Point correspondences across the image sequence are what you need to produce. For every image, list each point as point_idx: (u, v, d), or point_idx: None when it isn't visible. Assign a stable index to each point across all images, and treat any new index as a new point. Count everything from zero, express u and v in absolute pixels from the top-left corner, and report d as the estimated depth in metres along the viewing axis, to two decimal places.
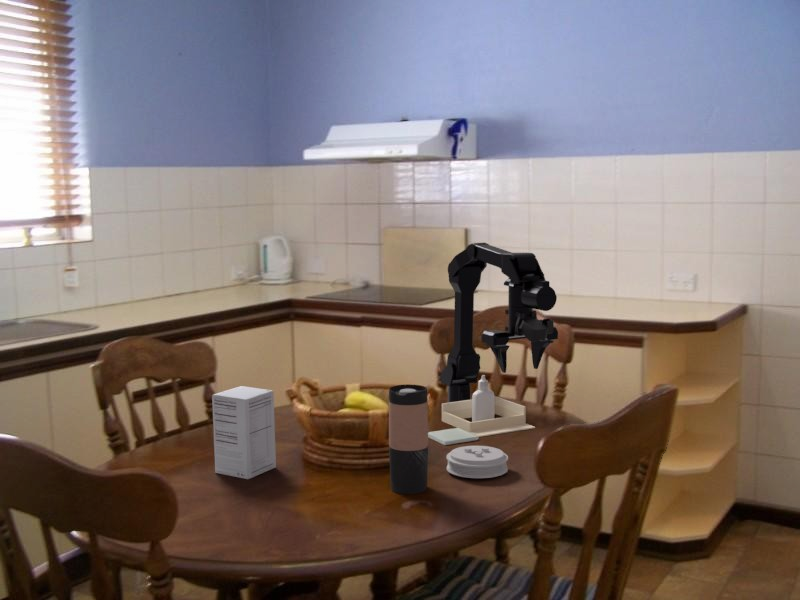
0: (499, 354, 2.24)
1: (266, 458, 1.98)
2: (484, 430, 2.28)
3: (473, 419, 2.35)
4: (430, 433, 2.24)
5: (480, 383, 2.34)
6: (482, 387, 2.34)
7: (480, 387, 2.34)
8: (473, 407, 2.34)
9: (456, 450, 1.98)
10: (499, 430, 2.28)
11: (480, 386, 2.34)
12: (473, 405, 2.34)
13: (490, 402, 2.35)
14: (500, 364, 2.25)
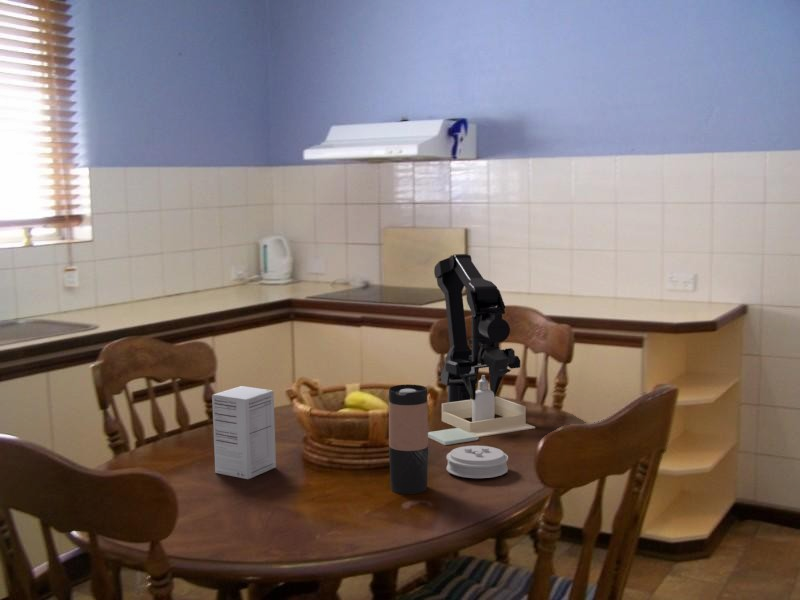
0: (468, 382, 2.33)
1: (266, 458, 1.98)
2: (484, 430, 2.28)
3: (473, 419, 2.35)
4: (430, 433, 2.24)
5: (480, 383, 2.34)
6: (482, 387, 2.34)
7: (480, 387, 2.34)
8: (473, 407, 2.34)
9: (456, 450, 1.98)
10: (499, 430, 2.28)
11: (480, 386, 2.34)
12: (473, 405, 2.34)
13: (490, 402, 2.35)
14: (470, 391, 2.34)
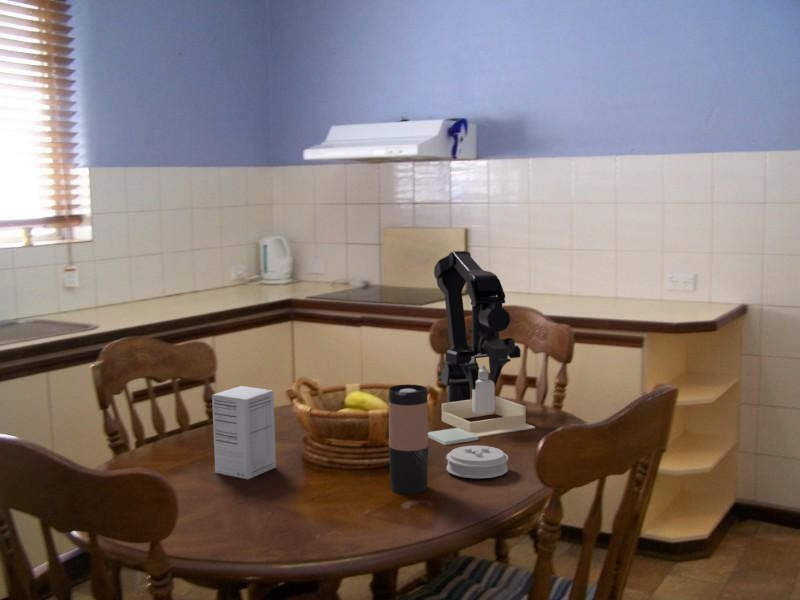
0: (468, 371, 2.33)
1: (266, 458, 1.98)
2: (484, 430, 2.28)
3: (473, 409, 2.34)
4: (430, 433, 2.24)
5: (480, 373, 2.34)
6: (482, 377, 2.34)
7: (480, 377, 2.34)
8: (473, 397, 2.34)
9: (456, 450, 1.98)
10: (499, 430, 2.28)
11: (480, 376, 2.34)
12: (473, 395, 2.34)
13: (491, 392, 2.34)
14: (470, 381, 2.33)
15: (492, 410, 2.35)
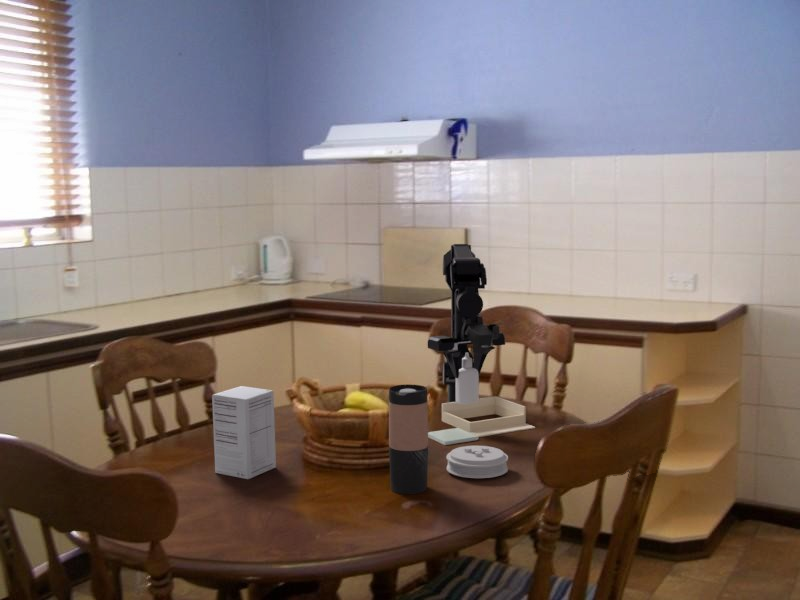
0: (451, 359, 2.24)
1: (266, 458, 1.98)
2: (484, 430, 2.28)
3: (457, 398, 2.26)
4: (430, 433, 2.24)
5: (464, 361, 2.25)
6: (465, 365, 2.25)
7: (464, 365, 2.26)
8: (457, 386, 2.26)
9: (456, 450, 1.98)
10: (499, 430, 2.28)
11: (464, 364, 2.26)
12: (456, 384, 2.26)
13: (474, 381, 2.26)
14: (453, 369, 2.25)
15: (476, 399, 2.27)
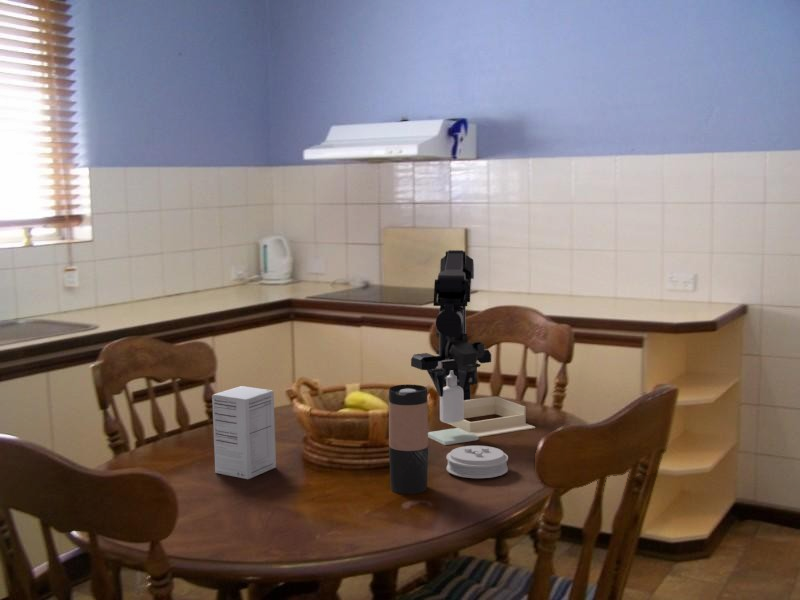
0: (435, 377, 2.19)
1: (266, 458, 1.98)
2: (484, 430, 2.28)
3: (441, 417, 2.21)
4: (430, 433, 2.24)
5: (448, 379, 2.20)
6: (450, 383, 2.20)
7: (448, 383, 2.20)
8: (441, 404, 2.20)
9: (456, 450, 1.98)
10: (499, 430, 2.28)
11: (448, 382, 2.20)
12: (441, 402, 2.20)
13: (459, 399, 2.21)
14: (437, 387, 2.20)
15: (461, 418, 2.22)
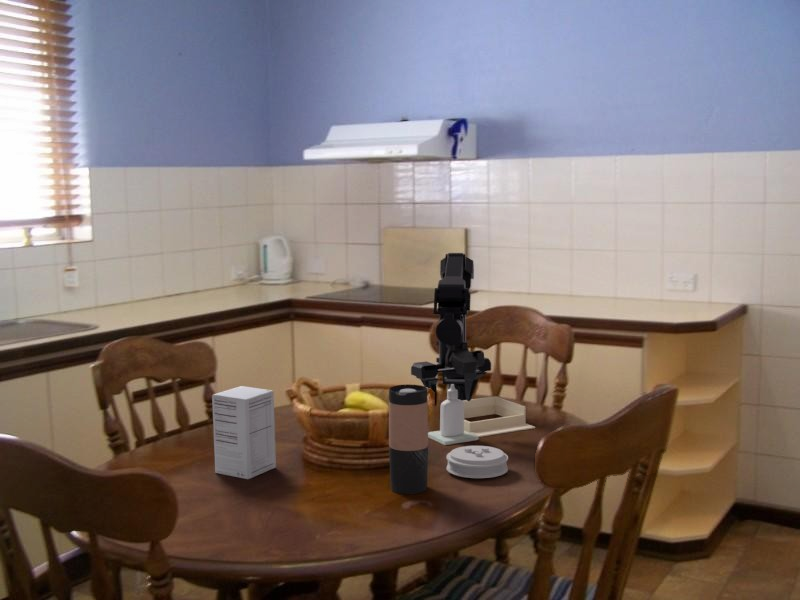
0: (429, 387, 2.19)
1: (266, 458, 1.98)
2: (484, 430, 2.28)
3: (441, 430, 2.21)
4: (430, 433, 2.24)
5: (449, 393, 2.20)
6: (451, 397, 2.20)
7: (449, 397, 2.20)
8: (441, 418, 2.21)
9: (456, 450, 1.98)
10: (499, 430, 2.28)
11: (449, 396, 2.20)
12: (441, 416, 2.21)
13: (460, 413, 2.21)
14: None
15: (461, 432, 2.22)
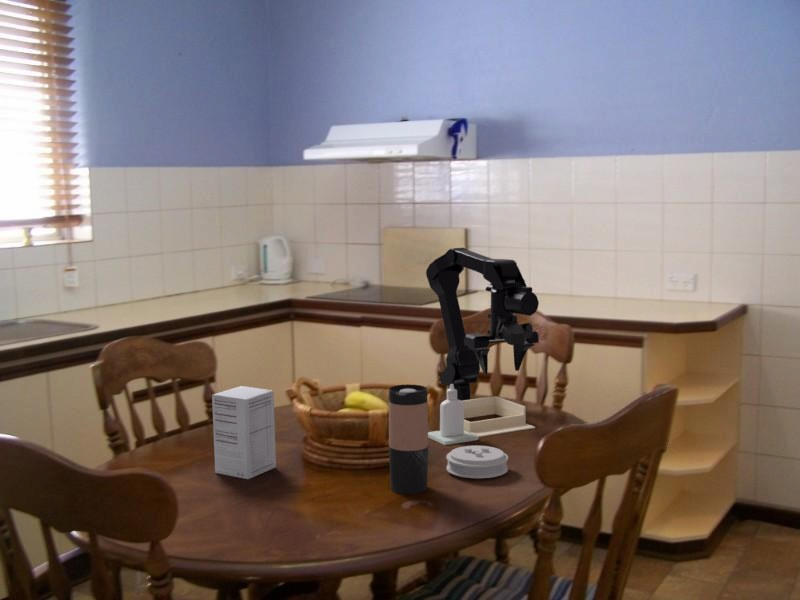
0: (481, 356, 2.35)
1: (266, 458, 1.98)
2: (484, 430, 2.28)
3: (441, 431, 2.21)
4: (430, 433, 2.24)
5: (448, 392, 2.20)
6: (450, 397, 2.20)
7: (448, 397, 2.20)
8: (441, 418, 2.21)
9: (456, 450, 1.98)
10: (499, 430, 2.28)
11: (448, 396, 2.20)
12: (441, 416, 2.21)
13: (459, 413, 2.21)
14: (482, 365, 2.35)
15: (461, 432, 2.22)
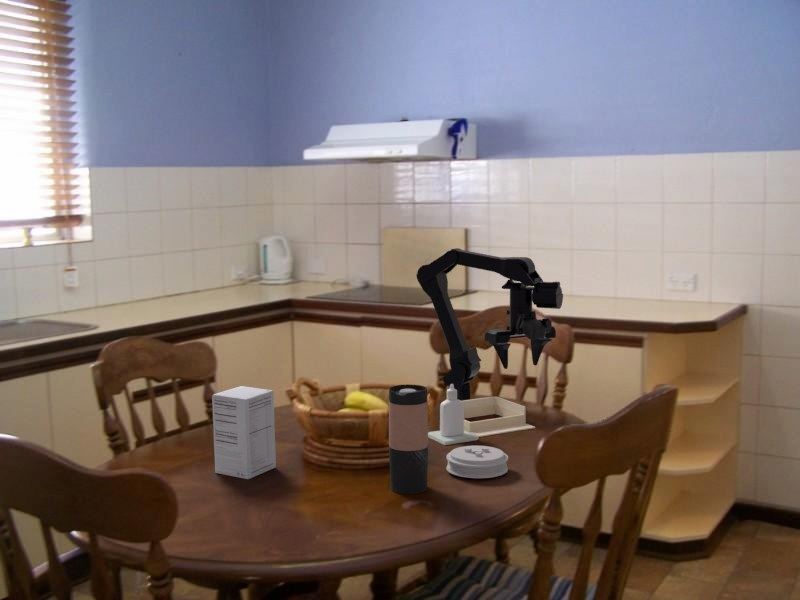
0: (501, 351, 2.42)
1: (266, 458, 1.98)
2: (484, 430, 2.28)
3: (441, 431, 2.21)
4: (430, 433, 2.24)
5: (448, 392, 2.20)
6: (450, 397, 2.20)
7: (448, 397, 2.20)
8: (441, 418, 2.21)
9: (456, 450, 1.98)
10: (499, 430, 2.28)
11: (448, 396, 2.20)
12: (441, 416, 2.21)
13: (459, 413, 2.21)
14: (502, 360, 2.42)
15: (461, 432, 2.22)
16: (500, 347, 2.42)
